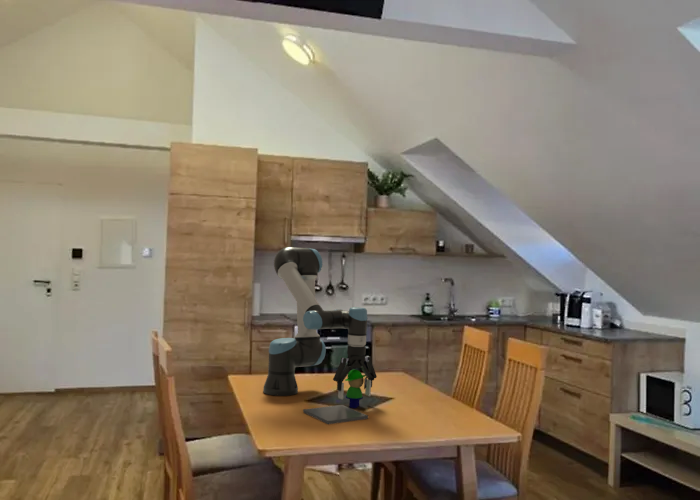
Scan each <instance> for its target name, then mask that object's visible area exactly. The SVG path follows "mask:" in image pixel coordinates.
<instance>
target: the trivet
mask: <svg viewBox="0 0 700 500" xmlns="http://www.w3.org/2000/svg"><path fill="white" fill-rule="evenodd" d="M302 412H303V414H306V415H308V416H309V417H312V418H314V419H315V420H318V421H320V422H322V423H325V424H326V425H333V424H334V425H335V424H339V423H347V422H348V423H349V422H355V421H361V420H367V419H369V415H368V414H365V413H363V412H360V411H358V410H356V409H355V408H350V407H349V406H346V405H344V404H338V405H337V404H336V405H329V406H322V407H312V408H304V409H302Z"/></svg>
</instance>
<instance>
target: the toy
mask: <svg viewBox="0 0 700 500" xmlns="http://www.w3.org/2000/svg"><path fill="white" fill-rule="evenodd" d="M346 377H347V378H345V379H344V381H345V382H348V385H349V388H348V389H347V391H346V395H345V398H346V399H347V400H349V402H348V403H349V405H348V407H349V408H351V409H358V407H360V400H363V398H364V396H363V392H362V389H361V387H363V390H365V388H366V387H367V379H368V378H367V377H366V375H365V374H363V373H362V372H361V371H360V370H358V369H356V368H355V369H354V368H353V369H352V370H350V372H349V373H348V375H347V376H346Z"/></svg>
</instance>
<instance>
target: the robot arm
mask: <svg viewBox="0 0 700 500" xmlns="http://www.w3.org/2000/svg"><path fill="white" fill-rule="evenodd" d="M273 268H274V272H275V274H276V275H277V276H278V278H279V279H282V281H283V282H284V284H285V285H286V287H287V289H288V290H289V292H290V293H291V294H292V297H293V298H294V299H295V301H296V316H297V317H296V320H297V333H296V334H295V336H294V338H293V337H281V338H276V339H273V340H272V341H270V343H269V346H268V365H267V366H268V367H267V368H268V370H267V371H268V372H267V377H266V379H265V381H264V385H263V387H262V388H263V389H262V390H263V391H262V392H263V393H264V394H266V395H270V396H277V397H278V396H279V397H287V396H295V395H297V394H298V393H299V390H298V389H299V388H298V387H299V386H298V383H297V380H296V375H295V371H296V368H299V367H300V368H301V367H314V366H318V365H320V364H322V362H323V360H325V356H326V352H327V350H326V349H327V348H326V345H325V342H324V340H322V339H321V336H320V334H319V333H318V332H317V330H325V329H328V330H329V329H330V330H333V329H345V330H346V329H347V331H348V333H347V352H346V353H347V358H346V357H340V363H339V365H338V367H337V370H336V372H335V374H334V376H333V378H332V380H333V382H336V383H337V384H336V390H337V392H338V393H337V399H340V400H344V394H345V393H344V390H345V383H344V381H345V379H347V378H346V377H348V373H349V372H350V371H351V370H354V369H355V370H356V369H361V371H362V372H363V375H366V376H365V378H366V377H367V387H366V388H365V389H364V390H365V392H364V395H365V396H367V397H371V396H372V395H371V391H372V389H371V388H373V381H374V380H375V379H377V377H378V376H377V373H376V371H375V367H374V365H373V363H372V356H369V355H366V350H367V347H366V344H367V332H368V331H367V329H368V310H367V309H366V308H365V307H357V306H355V307H354V306H353V307H350V308H349V310H343V309H341V308H340V309H336V308H335V309H333V310H324V309H323V308H322V307H321V304H320V303H319V302H318V300H317V299H316V286H315V282H316V281H315V280H316V279H317V278H318V274H319V273H320V272H321V270H322V268H323V257H322V255H321V254H320V252H319V251H318V250H317V249H315V248H310V247H293V246H288V247H283V248H282V249H280V250H278V252H277V253H276V254H275V257H274V260H273Z"/></svg>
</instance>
